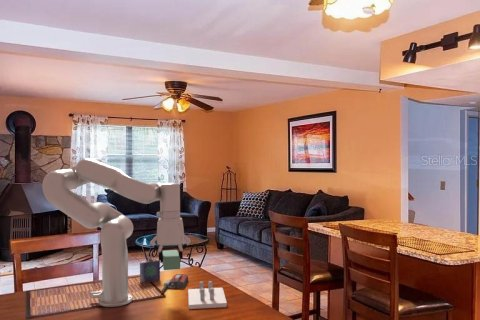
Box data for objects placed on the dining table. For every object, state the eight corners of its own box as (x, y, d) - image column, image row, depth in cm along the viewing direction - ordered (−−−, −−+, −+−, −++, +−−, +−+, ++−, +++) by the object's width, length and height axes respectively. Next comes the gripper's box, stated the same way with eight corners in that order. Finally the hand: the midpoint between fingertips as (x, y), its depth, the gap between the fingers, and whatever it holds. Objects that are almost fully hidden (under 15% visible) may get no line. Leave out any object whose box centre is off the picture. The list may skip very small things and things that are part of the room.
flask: (141, 283, 182) (140, 259, 182) (138, 281, 185) (138, 257, 185) (160, 280, 187) (160, 256, 187) (158, 278, 190) (158, 255, 190)
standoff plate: (188, 308, 152) (188, 294, 152) (188, 292, 169) (188, 279, 169) (226, 306, 153) (226, 292, 153) (222, 291, 171) (222, 277, 171)
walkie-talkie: (169, 280, 188) (159, 294, 168) (169, 270, 188) (159, 284, 168) (189, 280, 188) (180, 295, 168) (189, 270, 188) (180, 284, 168)
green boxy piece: (163, 270, 152) (163, 259, 152) (161, 260, 166) (161, 250, 165) (180, 269, 153) (180, 258, 153) (177, 259, 167) (176, 249, 167)
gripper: (146, 217, 154) (147, 265, 155) (193, 215, 157) (193, 263, 157) (148, 214, 162) (148, 260, 162) (192, 213, 164) (193, 258, 164)
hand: (170, 261), depth 159 cm, fingers closed on green boxy piece, 6 cm apart
